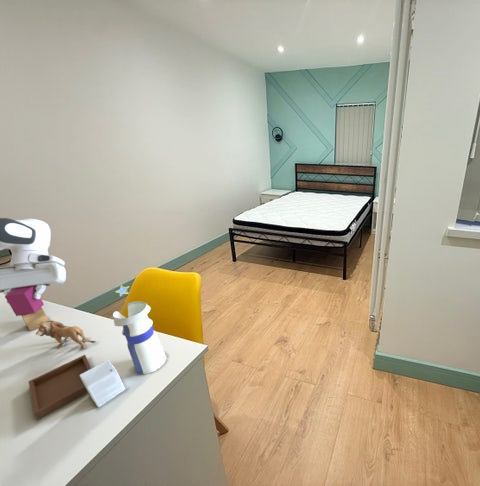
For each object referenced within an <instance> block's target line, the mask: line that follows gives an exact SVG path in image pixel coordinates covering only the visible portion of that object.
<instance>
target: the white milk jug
mask: <svg viewBox="0 0 480 486" xmlns="http://www.w3.org/2000/svg"><path fill="white" fill-rule="evenodd" d="M129 288H130V286H129V285H127V286H124V285H122V284H121V285H120V286H119V289H117V290H115V291H114V293H117V294H119V298H120V297H122V296H124V295H128V294H129V293H130V292H128V289H129ZM151 309H152V308H151V306H150V305H148V303H146V302H145V301H141V300H139V301H137V300H136V301H131V302H128V303H127V315H128V317H127V316H125V315H123V314H121V313H120V312H119V311H118V310H117V311H116V310H115V311H114V312H113V313H112V320H113V323H114V326H115V327H122V330H121V334H122V335H123V336H124V337H125V340H126V347H127V350H128V352H129V355H130V357H131V361H132V364H133V366H134V370H135V372H136V373H137V374H139V375H146V374H151V373H152V372H156V371H157V370H159V369H160V368H161V367H162V366H163V365H164V364H165V362H166V360H167V355H166V353H165V351H164V349H163V346H162V344H161V341H160V339H159V336H158V334H157V331H155V330H154V327H153V323H154V322H153V320H152V319H151V318H149V316H148V314H149V313H150V312H151Z"/></svg>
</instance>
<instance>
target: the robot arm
mask: <svg viewBox="0 0 480 486" xmlns="http://www.w3.org/2000/svg"><path fill="white" fill-rule="evenodd" d="M51 239H52V232H51V227H50V226H49V224H48V223H47V222H45V221H43V220H41V219H37V218H24V219H12V218H8V217H0V251H3V250H10V251H11V258H10V263H9V265H8V264H7V265H3V266H0V294H3V295H4V297H5V296H6V295H7V294H8V293H10V292H11V291H12V290H14V289H15V288H21V287H28V286H35V288H36V290H37V291H36V292H35V294H32V299H33V300H37V299H40V298H41V299H42V294H44V292H45V291H46V290H47V287H50V286H57V285H63V284H64V283H65V282H66V280H67V270H66V268H65V264H66V262H65V260H63V259H61V258H59V257H57V256H55V255H51V254H49V249H50V246H51ZM6 303H7V304H9V303H8V301H7V300H6Z"/></svg>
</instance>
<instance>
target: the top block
mask: <svg viewBox="0 0 480 486" xmlns="http://www.w3.org/2000/svg"><path fill="white" fill-rule="evenodd" d="M37 290H38V289H37V288H35V286H28V287H21V288H15V289H14V290H12V291H11V292H10V293H8V294H7V295H6V296H5V295H4V298H5V299H6V302H7V301H8V303H7V304H8V305H9V306H10V308H11V309H12V311H13V313H14V315H15V316H16V317H21V315H26V314H32V313H36V312H37V311H38V310H39V309H40V308H41V307H42V308H43V306H45V304H44V302H43V299H42V297H41V298H40V299H37V300H33V299H32V294H35V292H36V291H37Z"/></svg>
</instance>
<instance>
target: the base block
mask: <svg viewBox="0 0 480 486" xmlns="http://www.w3.org/2000/svg"><path fill="white" fill-rule="evenodd" d="M20 317H21V319H22V320H23V322H24V323H25V325H26V326H27V328H28V330H29V331H33V330H36V329H38V328H39V327H40V325H39V324H40V323H41V322H44V321H50V320H49V318H48V316H47V314H46V313H45V310H44V308H43V306H42V307H41V308H40V309H39V310H38V311H37V312H36V313H32V314H26V315H20Z"/></svg>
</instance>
